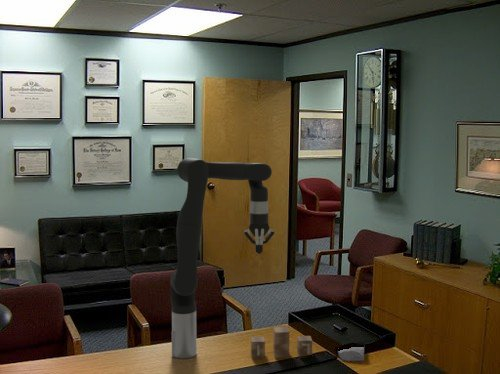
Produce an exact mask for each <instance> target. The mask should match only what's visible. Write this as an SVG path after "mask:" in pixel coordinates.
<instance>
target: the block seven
mask: <svg viewBox="0 0 500 374" xmlns="http://www.w3.org/2000/svg"><path fill="white" fill-rule="evenodd" d="M296 338H297V340H296V341H297V342H296V343H297V345H296V348H297V349H296V351H297V352H298V353H297V352H296V353H297V355H299V356H305V355H312V356H313V339H312V336H311V335H297V337H296ZM299 356H298V357H299Z"/></svg>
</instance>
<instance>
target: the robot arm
mask: <svg viewBox="0 0 500 374" xmlns="http://www.w3.org/2000/svg"><path fill="white" fill-rule="evenodd" d="M176 171H177V172H176V173H177V175H178V177H179V179H181V180H182V181H183V182H187V191H186V198H185V201H184V202H183V205H182V206H181V208H180V210H179V213H178V216H177V220H176V234H175V235H176V237H175V238H176V248H177V265H176V268H175V270H174V271H173V272H172V273H171V276H170V280H169V281H170V283H169V287H170V291H169V292H170V304H171V305H170V306H171V357H172V358H176V359H190V358H193V357H195V356H197V352H198V351H197V348H198V347H197V301H196V297H195V296H196V295H195V291H196V289H197V286H198V259H199V258H198V257H199V251H200V242H201V236H202V226H203V213H204V205H205V204H204V203H205V196H206V190H207V185H208V180H209V179H216V180H226V181H248V187H249V189H250V204H249V226H248V229H246V230H244V231H243V233H244V235H245V237H246V238H247V239H248V240H249V241H250V243H251V244H253V245H254V246H255V249H254V250H255V253H256V254H257V255H261V254H262V253H263V252H264V251H263V249H264V248H263V246H264V244H268V242H269V241H270V240H271V238H272V237H273V236H274V235H275V230H273V229H271V228H270V225H269V191H268V187H267V186H265V185H263V182H264V181H267V180H269V179H270V178H271V176H272V173H273V172H272V171H273V170H272V168H271V166H270V165H269V164H267V163H263V162H253V163H248V162H238V161H237V162H232V161H230V162H229V161H227V162H224V161H223V162H216V161H215V162H209V161H205V160H203V159H201V158H193V157H187V158H184V159H182V160H181V161H180V162H179V163H178V164H177V169H176ZM251 234H252V235H251ZM266 234H267V235H266ZM252 236H253V237H254V239H255V240H254V239H253V237H252ZM265 236H266V237H265ZM264 237H265V238H264Z"/></svg>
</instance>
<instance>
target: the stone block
mask: <svg viewBox="0 0 500 374" xmlns="http://www.w3.org/2000/svg"><path fill="white" fill-rule="evenodd" d="M337 353H338V358H339V359H340V360H342V361H347V362H351V361H352V362H364V361H365V346H364V347H351V348H349V349H343V350H340V351H338V350H337Z"/></svg>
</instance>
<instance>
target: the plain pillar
mask: <svg viewBox="0 0 500 374" xmlns="http://www.w3.org/2000/svg"><path fill="white" fill-rule="evenodd" d="M273 356H274V359H290V329H289V327H288V326H287V327H286V326H285V327H282V326H281V327H279V326H277V327H275V326H274V327H273Z"/></svg>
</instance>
